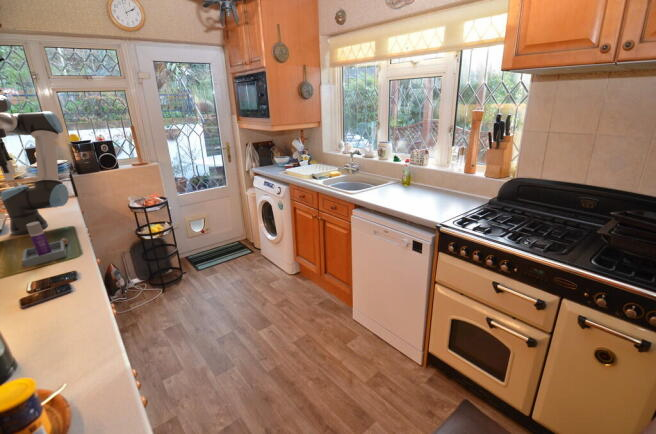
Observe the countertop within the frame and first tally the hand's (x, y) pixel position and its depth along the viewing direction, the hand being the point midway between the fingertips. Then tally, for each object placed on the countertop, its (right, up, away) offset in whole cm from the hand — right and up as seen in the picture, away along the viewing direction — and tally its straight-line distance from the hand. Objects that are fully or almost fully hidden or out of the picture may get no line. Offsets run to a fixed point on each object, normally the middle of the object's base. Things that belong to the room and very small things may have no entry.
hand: (11, 177), depth 148 cm
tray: (+16, -35, -1) cm, 38 cm away
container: (+16, -34, -1) cm, 38 cm away
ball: (+16, -31, +10) cm, 36 cm away
